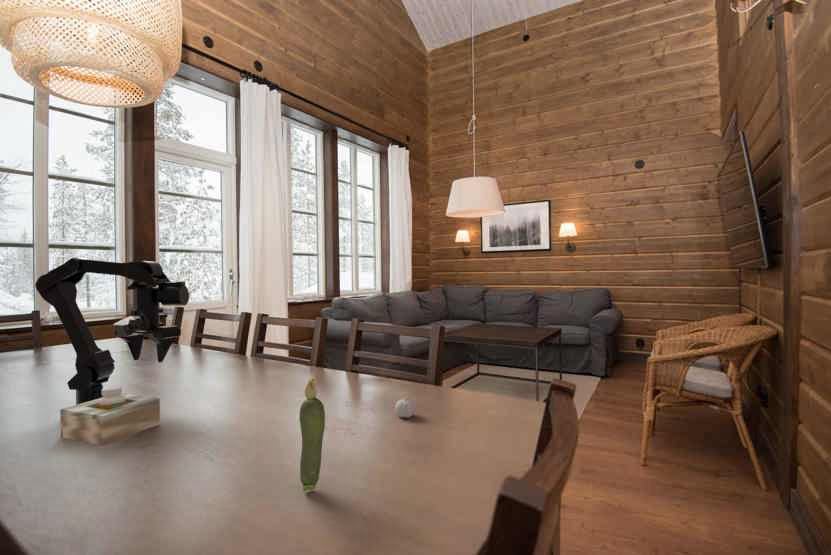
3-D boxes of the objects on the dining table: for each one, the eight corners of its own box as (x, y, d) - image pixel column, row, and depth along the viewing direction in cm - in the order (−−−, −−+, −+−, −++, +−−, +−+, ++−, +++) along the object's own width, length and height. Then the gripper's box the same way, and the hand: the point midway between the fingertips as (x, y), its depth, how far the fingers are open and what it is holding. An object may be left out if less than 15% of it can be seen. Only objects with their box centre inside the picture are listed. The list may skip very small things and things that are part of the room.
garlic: (420, 416, 114) (420, 397, 114) (406, 422, 110) (406, 401, 110) (404, 411, 118) (404, 392, 118) (390, 416, 114) (390, 397, 114)
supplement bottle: (112, 432, 101) (111, 391, 101) (92, 431, 102) (92, 390, 102) (131, 424, 106) (130, 385, 106) (113, 423, 107) (112, 384, 107)
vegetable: (302, 483, 78) (301, 373, 78) (326, 482, 78) (326, 373, 78) (297, 496, 74) (297, 380, 73) (323, 495, 74) (323, 379, 74)
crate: (60, 437, 99) (60, 409, 99) (119, 417, 113) (119, 392, 113) (103, 445, 95) (102, 416, 95) (159, 424, 108) (159, 398, 108)
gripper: (94, 307, 116) (95, 364, 117) (145, 309, 110) (146, 369, 111) (134, 304, 127) (134, 356, 127) (182, 305, 121) (182, 361, 121)
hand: (148, 361), depth 121 cm, fingers open, 9 cm apart
